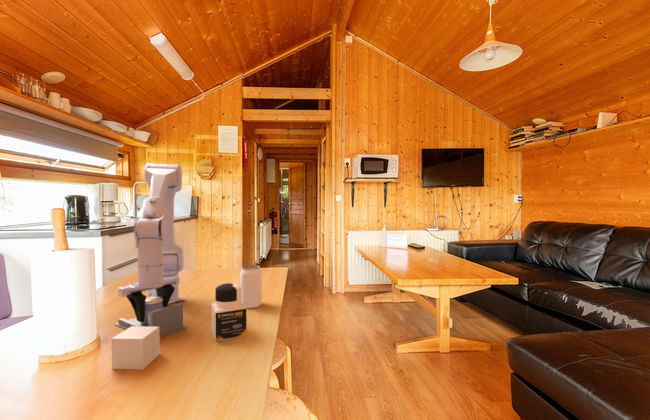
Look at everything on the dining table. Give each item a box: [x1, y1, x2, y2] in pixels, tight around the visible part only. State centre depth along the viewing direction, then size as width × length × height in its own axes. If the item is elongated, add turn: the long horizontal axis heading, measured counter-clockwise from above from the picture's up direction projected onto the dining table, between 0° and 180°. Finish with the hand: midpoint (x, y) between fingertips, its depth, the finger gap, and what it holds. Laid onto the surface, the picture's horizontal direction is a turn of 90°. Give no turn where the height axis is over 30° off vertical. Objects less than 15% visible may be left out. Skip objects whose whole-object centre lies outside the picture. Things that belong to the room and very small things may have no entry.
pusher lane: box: [114, 302, 187, 338], centre depth 81 cm, size 17×9×6 cm, turn 57°
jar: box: [141, 297, 163, 327], centre depth 80 cm, size 5×5×6 cm
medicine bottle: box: [210, 282, 248, 343], centre depth 76 cm, size 7×7×12 cm
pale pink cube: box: [111, 326, 161, 370], centre depth 63 cm, size 6×6×6 cm
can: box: [239, 264, 263, 310], centre depth 98 cm, size 6×6×12 cm
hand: (151, 317), depth 81 cm, fingers closed on jar, 5 cm apart
